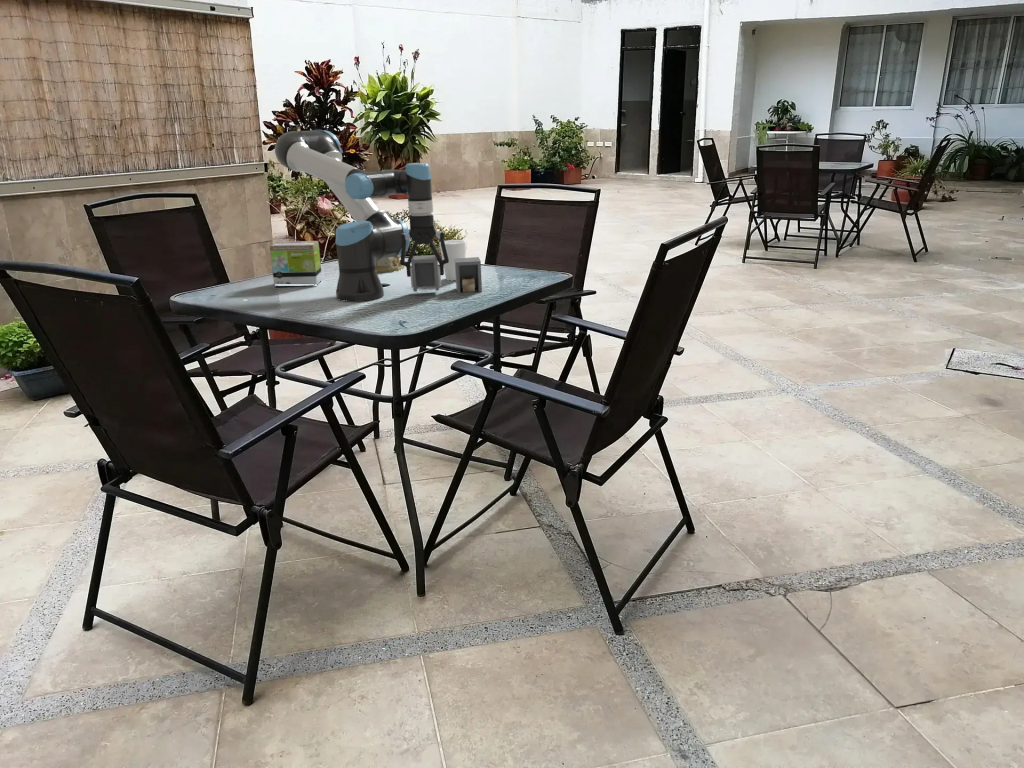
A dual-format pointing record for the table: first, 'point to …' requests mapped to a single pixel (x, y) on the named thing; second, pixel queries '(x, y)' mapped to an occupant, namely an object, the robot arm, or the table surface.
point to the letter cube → (468, 283)
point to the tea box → (296, 262)
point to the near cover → (424, 271)
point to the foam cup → (453, 256)
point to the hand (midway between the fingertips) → (426, 285)
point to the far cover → (468, 271)
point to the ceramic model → (389, 264)
